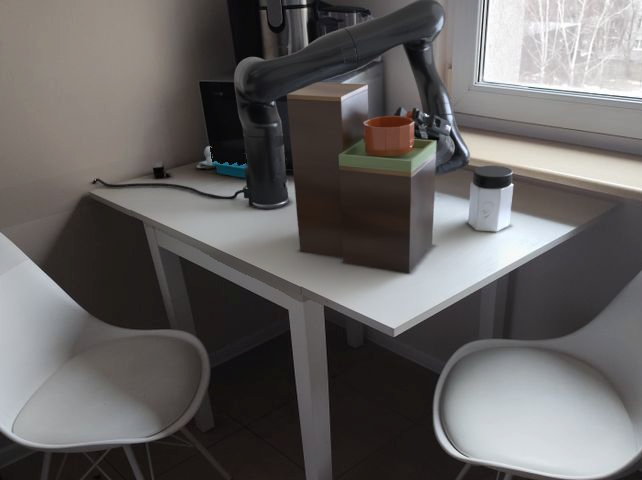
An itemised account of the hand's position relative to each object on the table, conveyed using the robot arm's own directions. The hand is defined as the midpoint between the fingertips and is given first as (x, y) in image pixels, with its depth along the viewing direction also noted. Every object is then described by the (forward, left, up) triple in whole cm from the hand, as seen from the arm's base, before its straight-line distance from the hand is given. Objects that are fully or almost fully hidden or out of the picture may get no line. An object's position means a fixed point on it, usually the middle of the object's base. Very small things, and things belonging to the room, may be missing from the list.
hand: (406, 112), depth 120 cm
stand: (-7, -8, -26) cm, 28 cm away
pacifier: (-67, +43, -26) cm, 84 cm away
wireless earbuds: (-77, +33, -26) cm, 88 cm away
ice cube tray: (-52, +40, -26) cm, 70 cm away
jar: (+17, +10, -26) cm, 32 cm away
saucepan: (-1, -5, -5) cm, 6 cm away
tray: (-2, -9, -6) cm, 11 cm away
